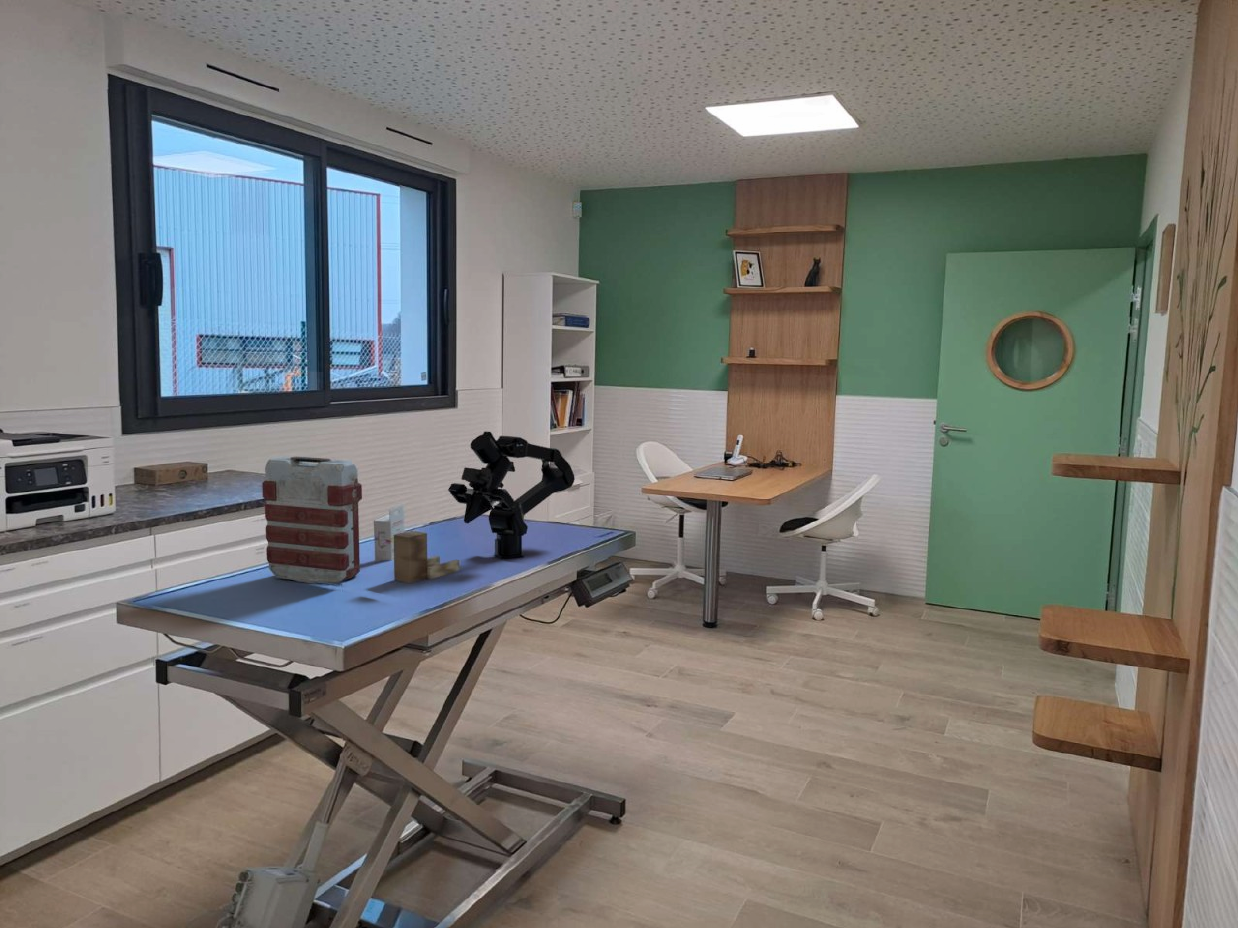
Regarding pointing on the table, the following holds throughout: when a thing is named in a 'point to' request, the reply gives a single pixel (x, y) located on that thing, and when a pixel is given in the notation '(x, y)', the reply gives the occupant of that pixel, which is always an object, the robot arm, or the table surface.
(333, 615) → the table surface
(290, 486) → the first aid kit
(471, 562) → the table surface
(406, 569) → the block
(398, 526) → the ink cartridge box
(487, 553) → the table surface
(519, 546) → the robot arm
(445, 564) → the chute
